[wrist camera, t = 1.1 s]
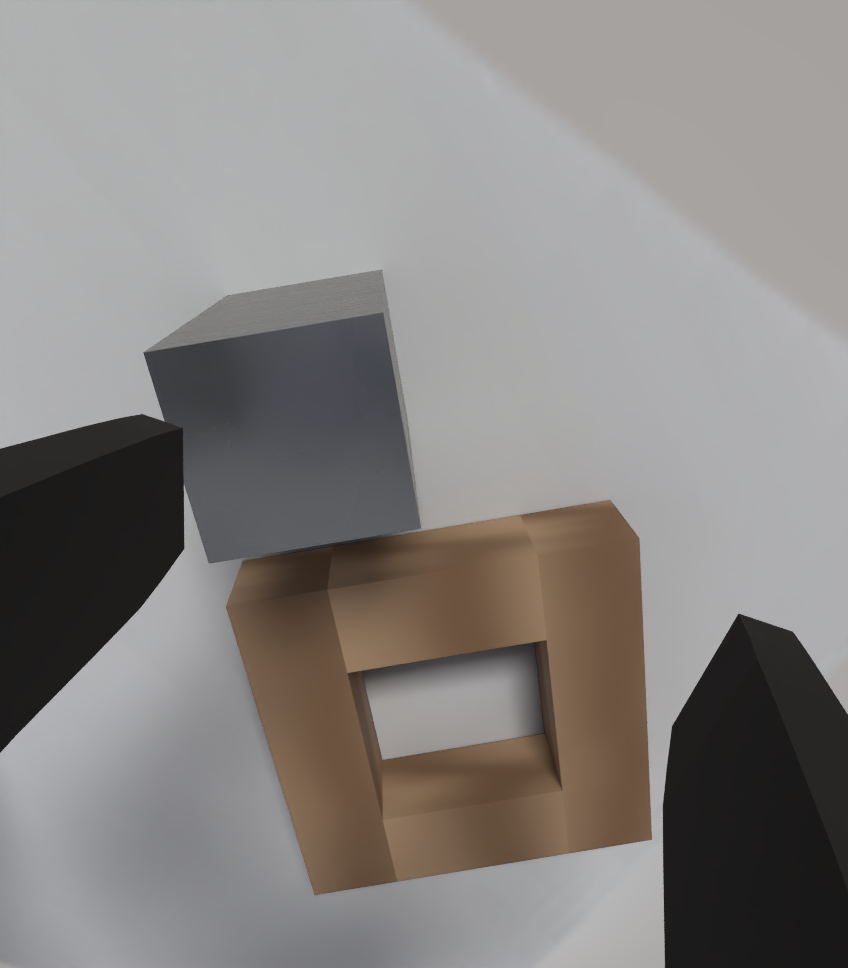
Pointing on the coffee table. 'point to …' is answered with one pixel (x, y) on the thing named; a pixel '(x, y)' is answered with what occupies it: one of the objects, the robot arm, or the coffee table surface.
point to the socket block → (440, 633)
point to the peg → (290, 417)
